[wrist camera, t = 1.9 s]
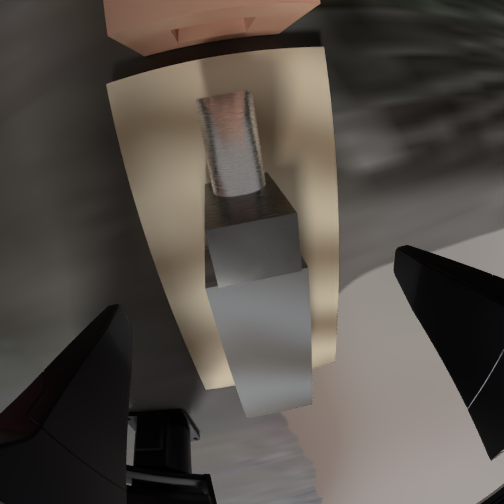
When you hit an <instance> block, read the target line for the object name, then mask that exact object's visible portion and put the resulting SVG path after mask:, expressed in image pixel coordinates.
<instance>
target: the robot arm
mask: <svg viewBox="0 0 504 504" xmlns="http://www.w3.org/2000/svg"><path fill="white" fill-rule="evenodd" d="M394 274H395V276H396V278H397V280H398V282H399V284H400V286H401V288H402V290H403V292H404V294H405V296H406V298H407V300H408V302H409V304H410V306H411V308H412V310H413V312H414V313H415V315H416V317H417V318H418V320H419V321H420V323H421V325H422V327H423V328H424V330H425V331H426V333H427V335H428V337H429V338H430V340H431V342H432V343H433V345H434V347H435V348H436V350H437V352H438V354H439V356H440V357H441V359H442V361H443V363H444V365H445V366H446V368H447V370H448V372H449V374H450V376H451V377H452V379H453V381H454V383H455V385H456V387H457V389H458V391H459V393H460V395H461V397H462V399H463V401H464V403H465V405H466V407H467V408H468V411H469V414H470V416H471V418H472V420H473V422H474V424H475V426H476V428H477V431H478V433H479V435H480V437H481V439H482V442H483V444H484V446H485V449H486V451H487V454H488V456H489V458H490V460H491V461H492V460H493V459H495V458H496V457H497V456H499V455H500V454H501V453H503V452H504V279H503V278H500V277H498V276H495V275H493V276H492V274H490V273H487V272H484V271H481V270H479V269H476V268H473V267H470V266H467V265H465V264H462V263H459V262H456V261H453V260H451V259H448V258H445V257H442V256H439V255H436V254H433V253H430V252H427V251H424V250H421V249H418V248H415V247H412V246H409V245H405V246H401V247H398V248H397V249H396V252H395V261H394ZM131 374H132V326H131V323H130V321H129V319H128V317H127V315H126V313H125V311H124V309H123V307H122V305H120V304H115V305H109V306H108V307H107V308H106V309H105V310H104V311H102V312H101V313H100V314H99V315H98V316H97V317H96V318H95V319H94V320H93V321H92V322H91V323H90V324H89V325H88V326H87V327H86V328H85V329H84V330H83V331H82V332H81V333H80V334H79V335H78V336H77V337H76V338H75V339H74V340H73V341H72V342H71V343H70V344H69V345H68V346H67V347H66V348H65V349H64V350H63V351H62V352H61V353H60V354H59V355H58V356H57V357H56V358H55V359H54V360H53V361H52V362H51V363H50V365H49V366H48V367H47V368H46V369H45V370H44V372H42V373H41V374H40V375H39V376H38V377H37V378H36V379H35V380H34V381H33V382H32V383H31V384H30V385H29V386H28V388H27V389H26V390H24V391H23V392H22V393H21V394H20V395H19V396H18V397H17V398H16V399H15V400H14V401H13V402H12V403H11V404H10V405H9V406H8V407H7V408H6V409H5V410H4V411H3V412H2V413H1V414H0V504H217V502H216V498H215V494H214V490H213V485H212V481H211V477H210V474H204V475H202V474H192V468H191V445H190V441H197V440H200V435H199V433H198V432H197V430H196V429H195V427H194V426H193V424H192V423H191V421H190V420H189V418H188V417H187V415H186V413H185V412H184V411H183V410H168V411H156V412H141V413H128V410H129V397H130V385H131ZM128 424H129V425H130V426H131V427H132V428H133V429H134V430H135V431H136V433H135V445H134V462H133V466H130V465H126V451H127V427H128ZM126 483H130V484H132V485H131V486H129V485H126ZM477 504H504V484H503V485H502V486H500V487H499V488H498V489H496V490H495V491H494V492H492V493H491V494H490V495H488V496H487V497H485V498H484V499H483V500H481V501H480V502H478V503H477Z"/></svg>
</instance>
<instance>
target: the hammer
mask: <svg viewBox="0 0 504 504" xmlns="http://www.w3.org/2000/svg"><path fill="white" fill-rule="evenodd" d="M195 100H196V106H197V111H198V116H199V122H200V127H201V132H202V137H203V143H204V148H205V153H206V158H207V163H208V168H209V173H210V178H211V183H207V184H205V235H206V239H207V243H208V247H209V251H210V255H211V259H212V263H213V267H214V271H215V275H216V279H217V283H218V287H219V288H221V287H226V286H231V285H236V284H241V283H246V282H251V281H256V280H261V279H266V278H271V277H276V276H281V275H285V274H290V273H295V272H300V271H302V265H301V251H300V239H299V227H298V215H297V212H296V211H295V209H294V208H293V206H292V205H291V204H290V202H289V201H288V199H287V198H286V197H285V195H284V194H283V193H282V191H281V190H280V189H279V187H278V186H277V184H276V183H275V182H274V180H273V179H272V178H271V176H270V175H269V174H268V172H266V173H264V168H263V161H262V154H261V147H260V140H259V134H258V127H257V120H256V114H255V107H254V100H253V94H252V90H246V91H239V92H232V93H226V94H220V95H215V96H209V97H204V98H199V99H195Z"/></svg>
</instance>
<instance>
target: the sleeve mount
mask: <svg viewBox="0 0 504 504" xmlns="http://www.w3.org/2000/svg"><path fill="white" fill-rule="evenodd" d="M106 86H107V91H108V96H109V101H110V106H111V111H112V115H113V120H114V124H115V129H116V133H117V137H118V141H119V145H120V149H121V153H122V157H123V161H124V165H125V169H126V172H127V176H128V180H129V183H130V187H131V190H132V194H133V197H134V201H135V204H136V208H137V211H138V214H139V217H140V221H141V224H142V227H143V230H144V233H145V236H146V239H147V242H148V245H149V248H150V251H151V254H152V257H153V260H154V263H155V266H156V269H157V272H158V274H159V277H160V280H161V283H162V285H163V288H164V291H165V294H166V296H167V299H168V301H169V304H170V307H171V309H172V312H173V314H174V317H175V319H176V322H177V324H178V327H179V329H180V332H181V334H182V337H183V339H184V341H185V344H186V346H187V349H188V351H189V353H190V356H191V358H192V360H193V362H194V365H195V367H196V369H197V372H198V374H199V376H200V378H201V380H202V383H203V385H204V387H205V389H206V390H209V389H215V388H222V387H228V386H234V385H235V386H236V389H237V392H238V395H239V397H240V400H241V403H242V406H243V409H244V412H245V415H246V418H251V417H256V416H262V415H267V414H272V413H276V412H281V411H286V410H289V409H294V408H298V407H302V406H307V405H310V404H312V369H313V368H317V367H321V366H325V365H328V364H332V363H335V355H336V338H337V317H338V286H339V224H338V192H337V171H336V155H335V141H334V129H333V118H332V108H331V98H330V89H329V81H328V73H327V66H326V58H325V51H324V47H301V48H283V49H270V50H260V51H251V52H242V53H235V54H228V55H222V56H215V57H210V58H204V59H199V60H194V61H189V62H184V63H180V64H175V65H171V66H167V67H163V68H159V69H155V70H151V71H147V72H144V73H140V74H137V75H133V76H130V77H127V78H123V79H120V80H117V81H114V82H111V83H108V84H106ZM246 90H252V94H253V100H254V107H255V114H256V120H257V127H258V134H259V140H260V147H261V154H262V161H263V168H264V173H266V172H268V174H269V175H270V176H271V178H272V179H273V180H274V182H275V183H276V184H277V186H278V187H279V189H280V190H281V191H282V193H283V194H284V195H285V197H286V198H287V199H288V201H289V202H290V204H291V205H292V206H293V208H294V209H295V211H296V212H297V215H298V227H299V239H300V251H301V265H302V271H300V272H295V273H290V274H285V275H281V276H276V277H271V278H266V279H261V280H256V281H251V282H246V283H241V284H236V285H231V286H226V287H221V288H219V287H218V283H217V279H216V275H215V271H214V267H213V263H212V259H211V255H210V251H209V247H208V243H207V239H206V235H205V184H207V183H211V178H210V173H209V168H208V163H207V158H206V153H205V148H204V143H203V137H202V132H201V127H200V122H199V116H198V111H197V106H196V100H195V99H199V98H204V97H209V96H215V95H220V94H226V93H232V92H239V91H246Z"/></svg>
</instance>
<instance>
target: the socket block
mask: <svg viewBox="0 0 504 504" xmlns="http://www.w3.org/2000/svg"><path fill="white" fill-rule="evenodd" d="M103 3H104V12H105V20H106V28H107V35H108V37H110V38H112V39H114V40H116V41H118V42H120V43H121V44H123V45H125V46H127V47H129V48H130V49H132V50H134V51H136V52H137V53H139V54H141V55H143V56H144V57H145V56H149V55H153V54H156V53H160V52H164V51H168V50H173V49H177V48H182V47H186V46H191V45H196V44H202V43H207V42H213V41H219V40H226V39H233V38H241V37H250V36H260V35H271V34H279V33H281V32H282V31H283V30H285V29H286V28H287V27H288V26H290V25H291V24H292V23H294V22H295V21H297V20H298V19H299V18H301V17H302V16H303V15H305V14H306V13H308V12H309V11H310V10H312V9H313V8H315V7H316V6H318V5H319V4H321V3H320V0H103Z"/></svg>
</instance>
